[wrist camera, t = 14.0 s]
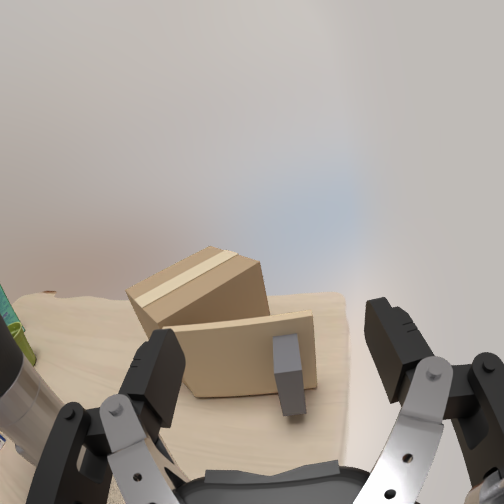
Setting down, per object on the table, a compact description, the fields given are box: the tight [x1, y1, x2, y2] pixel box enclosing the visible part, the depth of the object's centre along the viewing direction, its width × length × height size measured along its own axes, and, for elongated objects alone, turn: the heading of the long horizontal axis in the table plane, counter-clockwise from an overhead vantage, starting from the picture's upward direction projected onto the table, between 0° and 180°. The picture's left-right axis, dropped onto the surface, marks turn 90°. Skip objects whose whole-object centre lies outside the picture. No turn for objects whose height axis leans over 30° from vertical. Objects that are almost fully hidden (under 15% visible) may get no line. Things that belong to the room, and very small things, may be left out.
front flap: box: [162, 310, 317, 416], centre depth 28 cm, size 16×6×12 cm, turn 88°
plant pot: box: [7, 322, 36, 366], centre depth 39 cm, size 9×9×9 cm
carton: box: [125, 246, 270, 390], centre depth 40 cm, size 16×12×13 cm
